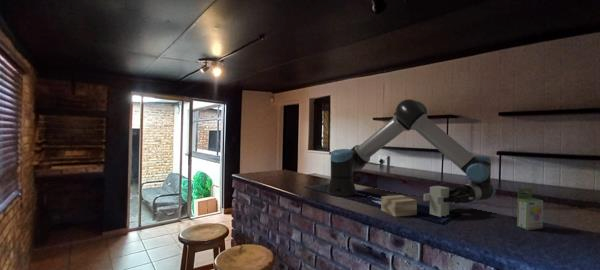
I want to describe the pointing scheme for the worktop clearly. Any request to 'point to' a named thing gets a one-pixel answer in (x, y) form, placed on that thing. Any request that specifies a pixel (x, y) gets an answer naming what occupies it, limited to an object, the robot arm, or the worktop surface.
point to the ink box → (529, 211)
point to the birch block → (399, 205)
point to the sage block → (438, 208)
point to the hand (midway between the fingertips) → (430, 199)
